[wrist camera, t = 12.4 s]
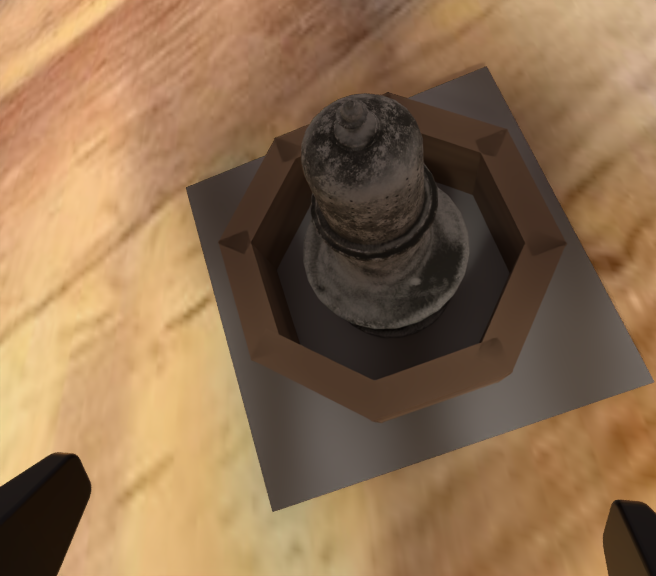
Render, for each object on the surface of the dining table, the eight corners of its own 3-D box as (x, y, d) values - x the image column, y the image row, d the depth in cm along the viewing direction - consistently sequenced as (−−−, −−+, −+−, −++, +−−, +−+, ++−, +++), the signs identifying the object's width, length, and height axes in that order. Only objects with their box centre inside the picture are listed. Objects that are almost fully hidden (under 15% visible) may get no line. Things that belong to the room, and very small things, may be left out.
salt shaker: (314, 224, 23) (202, 19, 11) (448, 199, 22) (470, -49, 11) (330, 355, 21) (217, 266, 10) (476, 333, 20) (538, 209, 9)
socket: (279, 508, 21) (241, 528, 17) (194, 196, 26) (148, 149, 21) (643, 384, 20) (703, 371, 15) (484, 80, 24) (496, 5, 20)
